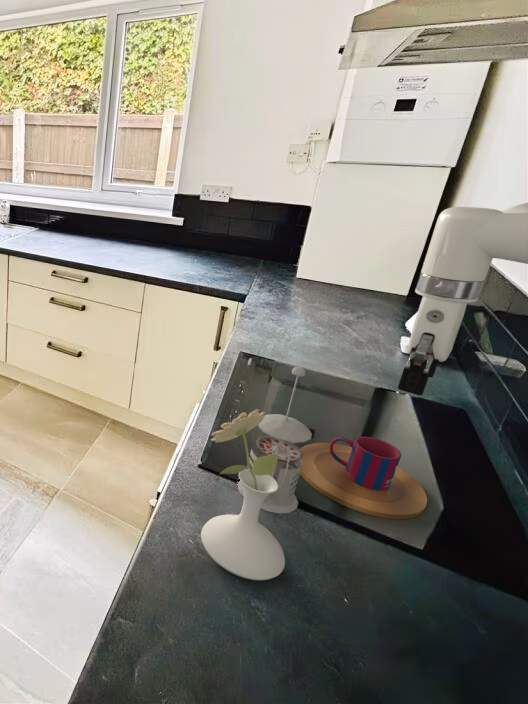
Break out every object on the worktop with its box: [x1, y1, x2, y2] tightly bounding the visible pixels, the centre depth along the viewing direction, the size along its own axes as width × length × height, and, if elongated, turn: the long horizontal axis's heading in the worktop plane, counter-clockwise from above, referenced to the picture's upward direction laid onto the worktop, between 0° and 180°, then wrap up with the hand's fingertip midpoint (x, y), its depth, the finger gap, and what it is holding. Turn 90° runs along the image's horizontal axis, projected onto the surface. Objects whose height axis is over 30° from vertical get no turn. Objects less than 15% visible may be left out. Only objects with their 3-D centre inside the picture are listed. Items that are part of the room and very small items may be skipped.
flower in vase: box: [200, 408, 286, 581], centre depth 65 cm, size 13×11×25 cm
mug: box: [329, 436, 402, 490], centre depth 84 cm, size 7×10×7 cm
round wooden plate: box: [295, 442, 428, 520], centre depth 85 cm, size 20×20×1 cm
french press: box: [236, 366, 313, 514], centre depth 76 cm, size 10×12×25 cm
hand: (415, 382), depth 79 cm, fingers open, 9 cm apart
